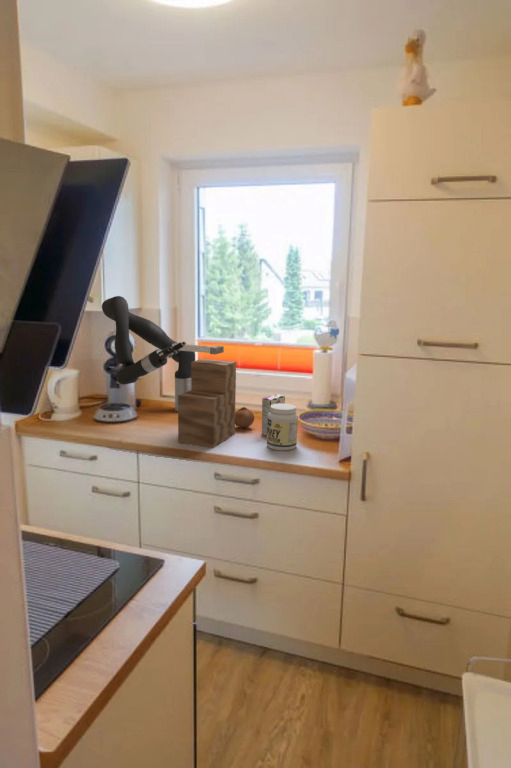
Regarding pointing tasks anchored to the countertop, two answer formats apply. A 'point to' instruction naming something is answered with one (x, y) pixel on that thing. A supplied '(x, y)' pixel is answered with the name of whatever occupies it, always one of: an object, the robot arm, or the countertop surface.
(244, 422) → the onion
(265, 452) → the countertop surface
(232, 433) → the brown wooden stepped block
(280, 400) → the candy bar box
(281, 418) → the supplement tub
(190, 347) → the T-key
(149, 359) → the robot arm
